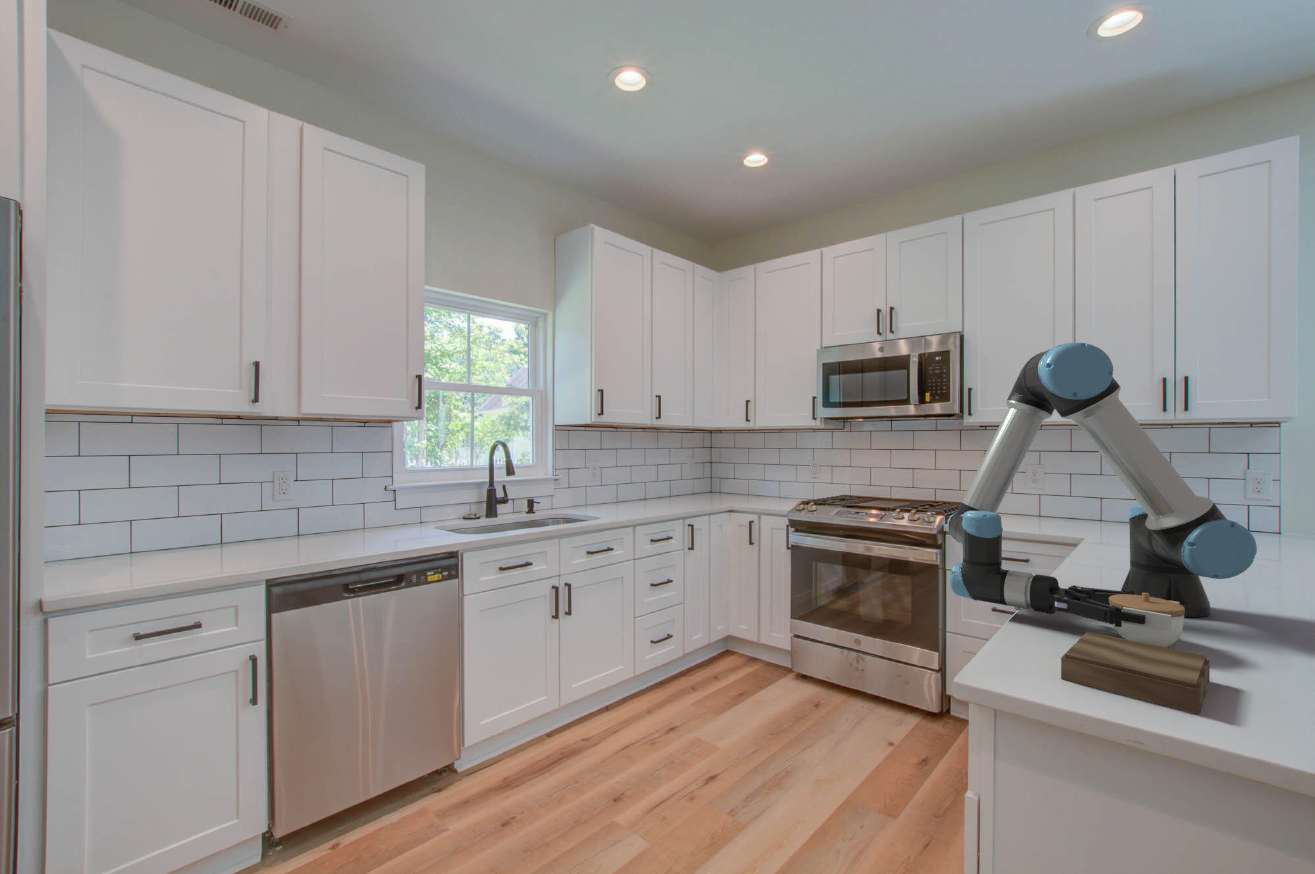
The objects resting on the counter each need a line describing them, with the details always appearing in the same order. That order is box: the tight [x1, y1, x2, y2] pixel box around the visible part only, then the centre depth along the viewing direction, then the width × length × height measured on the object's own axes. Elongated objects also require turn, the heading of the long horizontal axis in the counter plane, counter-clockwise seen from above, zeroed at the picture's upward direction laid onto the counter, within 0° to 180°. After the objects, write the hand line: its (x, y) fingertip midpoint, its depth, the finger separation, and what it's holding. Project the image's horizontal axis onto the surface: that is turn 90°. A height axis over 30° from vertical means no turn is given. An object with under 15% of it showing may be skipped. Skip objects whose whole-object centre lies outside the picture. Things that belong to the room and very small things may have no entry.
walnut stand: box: [1060, 631, 1211, 715], centre depth 91 cm, size 16×16×4 cm
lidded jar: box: [1109, 593, 1185, 648], centre depth 106 cm, size 11×11×9 cm
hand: (1175, 616), depth 103 cm, fingers closed on lidded jar, 11 cm apart
